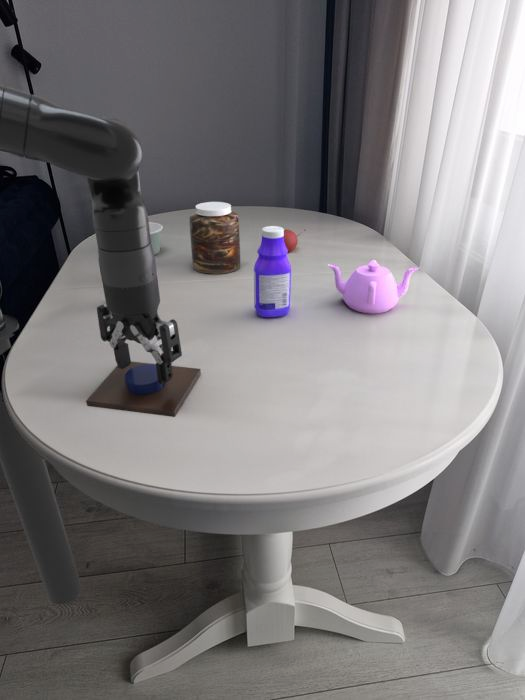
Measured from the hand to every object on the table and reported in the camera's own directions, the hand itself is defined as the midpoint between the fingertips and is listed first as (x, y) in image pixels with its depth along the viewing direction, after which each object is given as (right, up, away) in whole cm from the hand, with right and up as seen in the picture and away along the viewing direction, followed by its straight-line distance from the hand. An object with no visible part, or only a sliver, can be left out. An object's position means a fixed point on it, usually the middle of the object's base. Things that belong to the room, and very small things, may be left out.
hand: (144, 373), depth 79 cm
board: (0, -3, +1) cm, 3 cm away
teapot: (+41, +13, +28) cm, 51 cm away
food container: (-14, +30, +59) cm, 68 cm away
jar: (+7, +25, +49) cm, 55 cm away
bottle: (+20, +11, +25) cm, 34 cm away
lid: (0, 0, 0) cm, 0 cm away
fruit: (+26, +31, +60) cm, 72 cm away
